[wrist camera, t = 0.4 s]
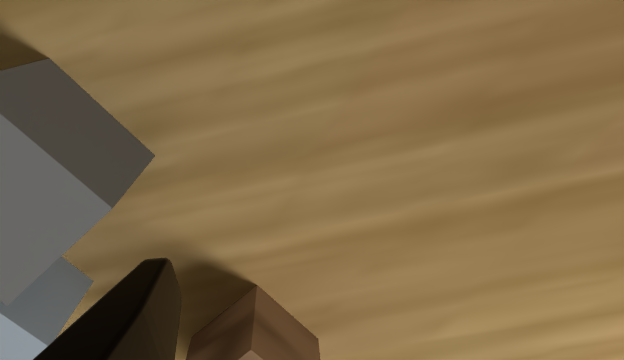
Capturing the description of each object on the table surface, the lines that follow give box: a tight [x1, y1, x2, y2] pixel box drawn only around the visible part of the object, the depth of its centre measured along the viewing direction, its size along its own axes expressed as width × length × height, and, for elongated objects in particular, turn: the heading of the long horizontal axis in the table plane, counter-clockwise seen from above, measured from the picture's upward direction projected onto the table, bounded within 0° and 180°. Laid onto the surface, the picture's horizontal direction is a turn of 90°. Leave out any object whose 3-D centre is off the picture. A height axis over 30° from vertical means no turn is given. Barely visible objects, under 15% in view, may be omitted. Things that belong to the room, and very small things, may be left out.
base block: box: [0, 58, 155, 306], centre depth 19 cm, size 6×6×6 cm
